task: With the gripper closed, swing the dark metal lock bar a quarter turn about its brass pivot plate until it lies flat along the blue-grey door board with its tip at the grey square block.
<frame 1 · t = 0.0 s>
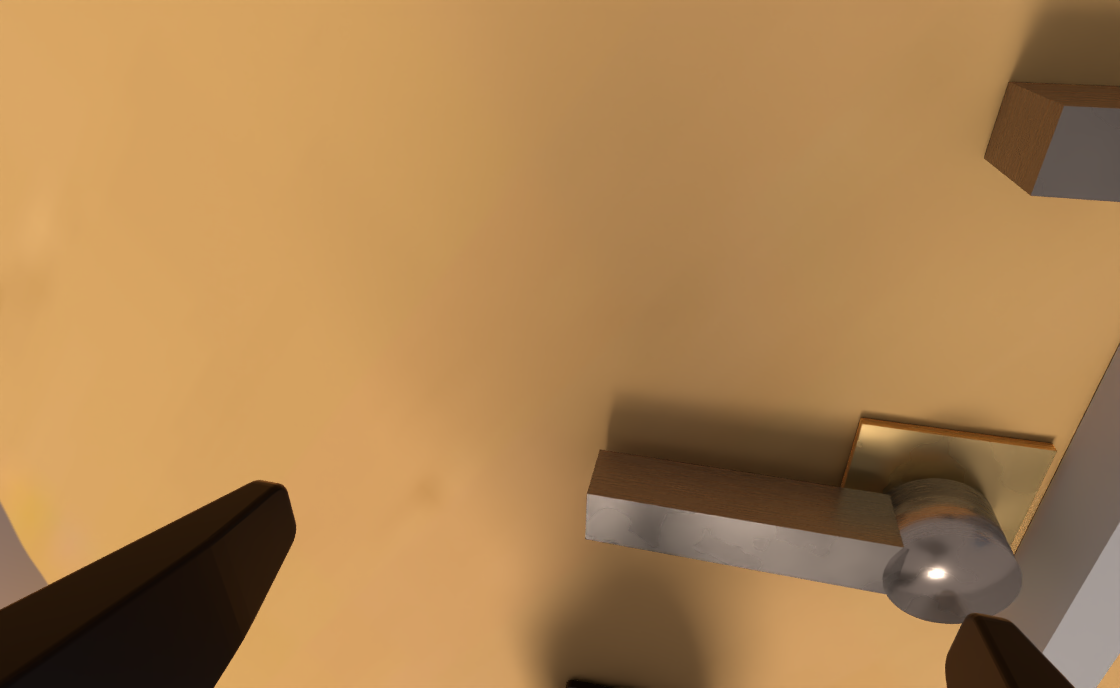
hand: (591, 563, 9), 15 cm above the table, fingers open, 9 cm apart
lock bar: (786, 524, 23), point 2 cm above the table, hinge at 90.0°
door board: (1109, 438, 21), on the table
grey square block: (1070, 125, 18), on the table
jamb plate: (924, 506, 24), on the table
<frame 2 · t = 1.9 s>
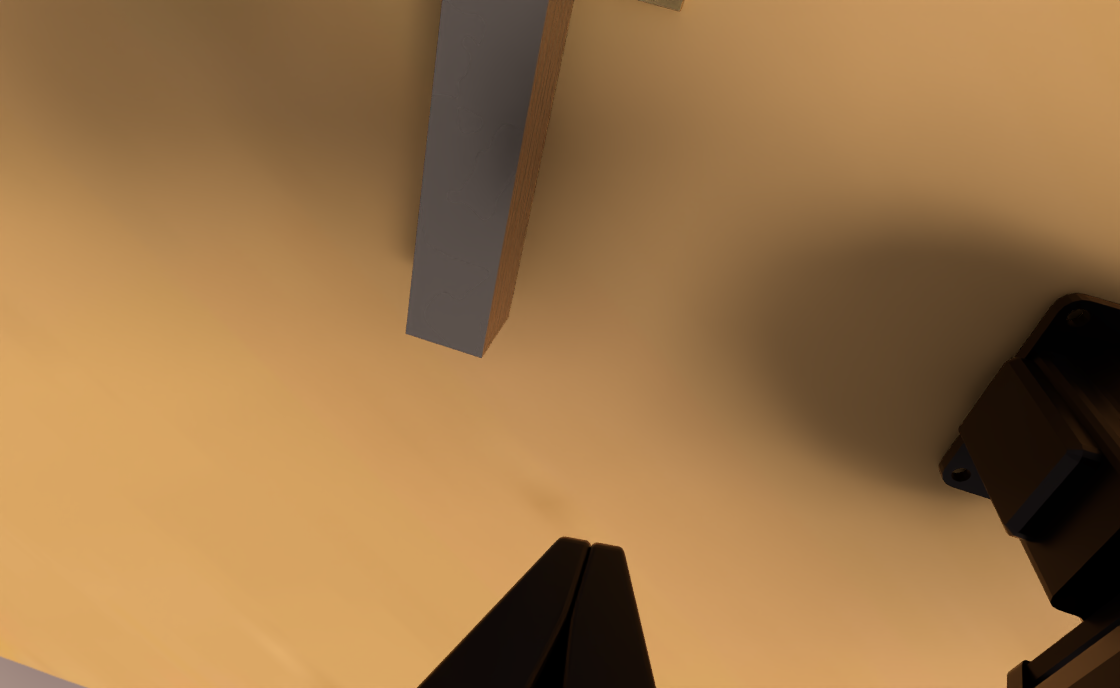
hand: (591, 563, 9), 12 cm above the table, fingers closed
lock bar: (501, 70, 15), point 2 cm above the table, hinge at 90.0°
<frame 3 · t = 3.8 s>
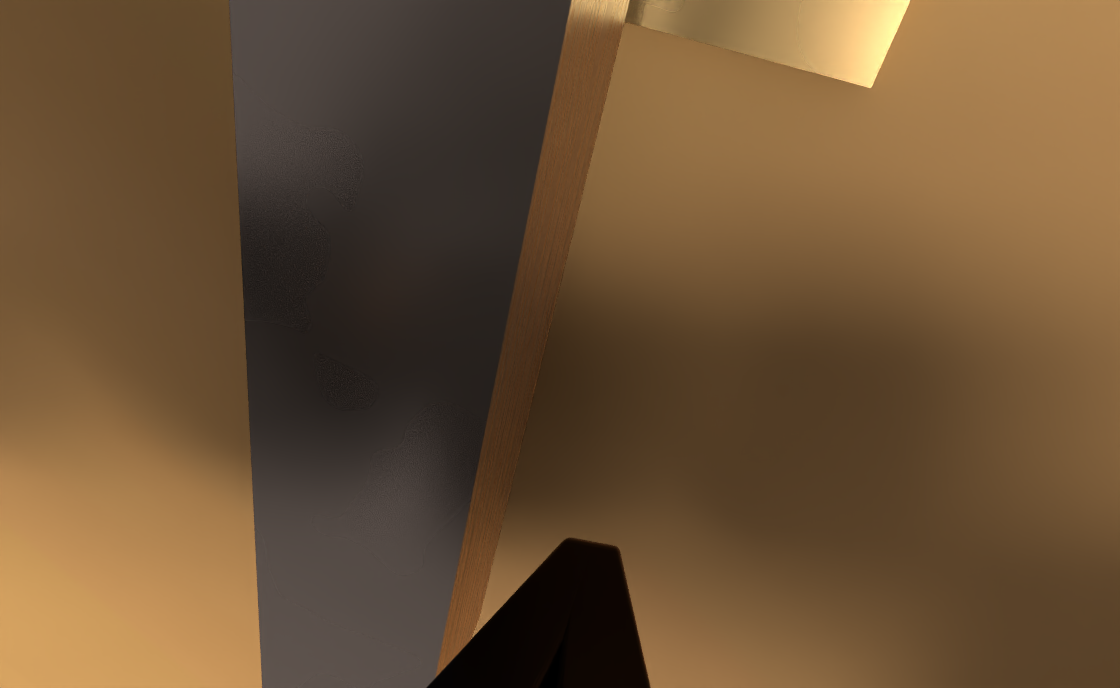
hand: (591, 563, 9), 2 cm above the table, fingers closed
lock bar: (437, 235, 6), point 2 cm above the table, hinge at 90.0°, touching gripper
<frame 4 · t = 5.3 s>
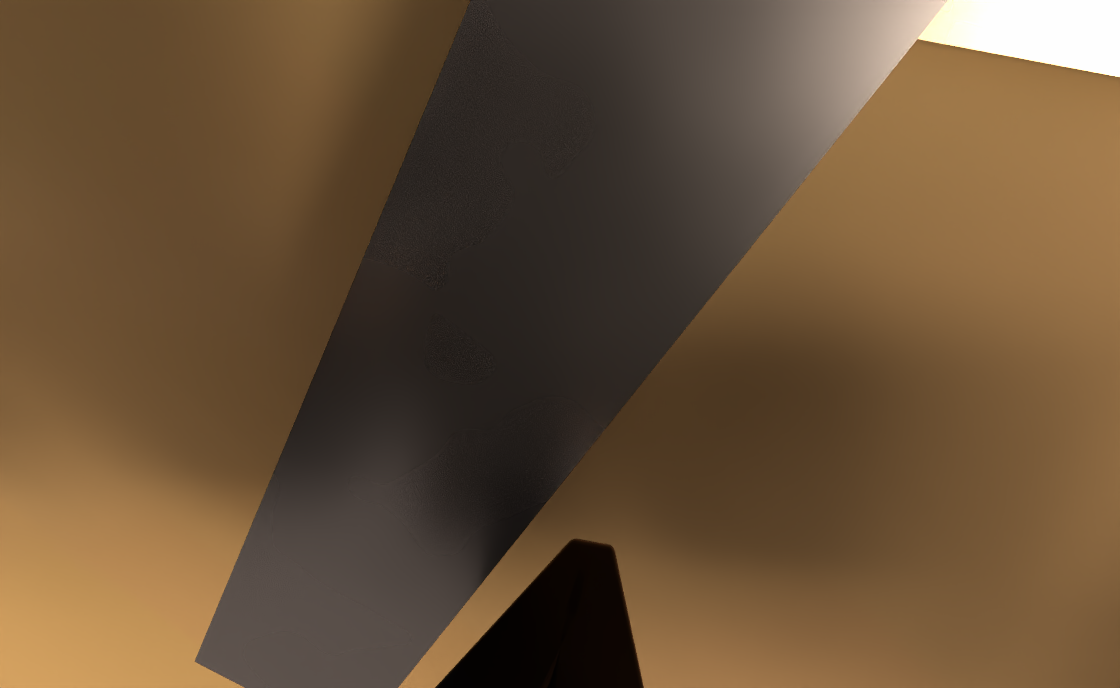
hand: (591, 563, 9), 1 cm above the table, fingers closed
lock bar: (569, 210, 6), point 2 cm above the table, hinge at 69.8°, touching gripper
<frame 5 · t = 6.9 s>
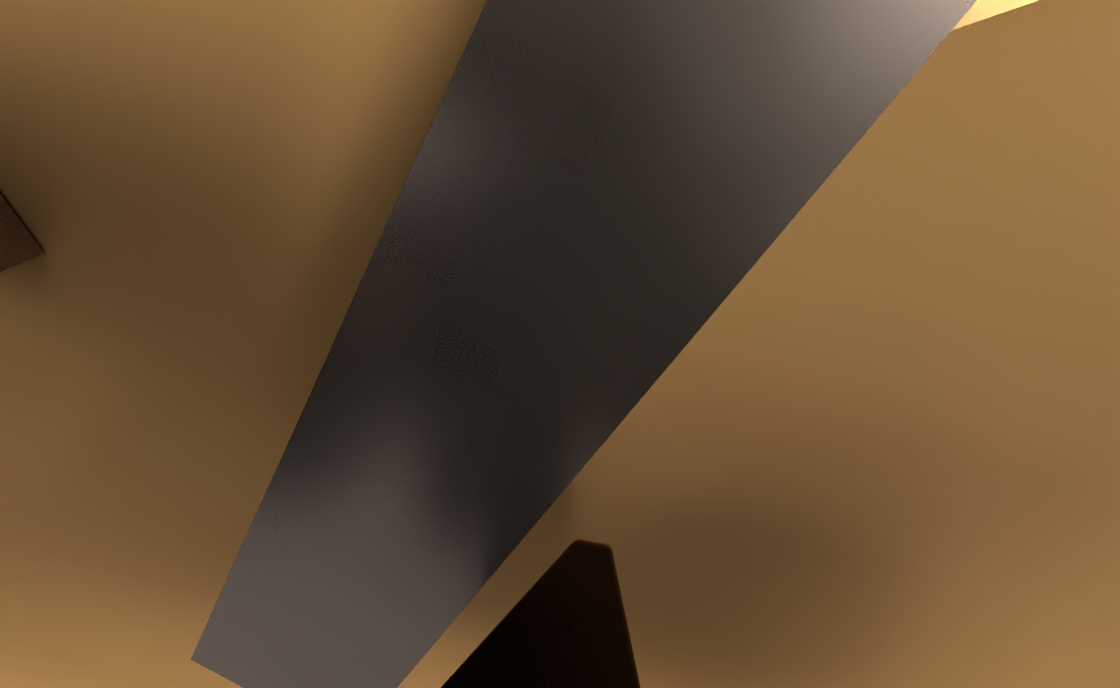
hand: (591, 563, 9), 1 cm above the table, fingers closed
lock bar: (579, 210, 6), point 2 cm above the table, hinge at 38.5°, touching gripper
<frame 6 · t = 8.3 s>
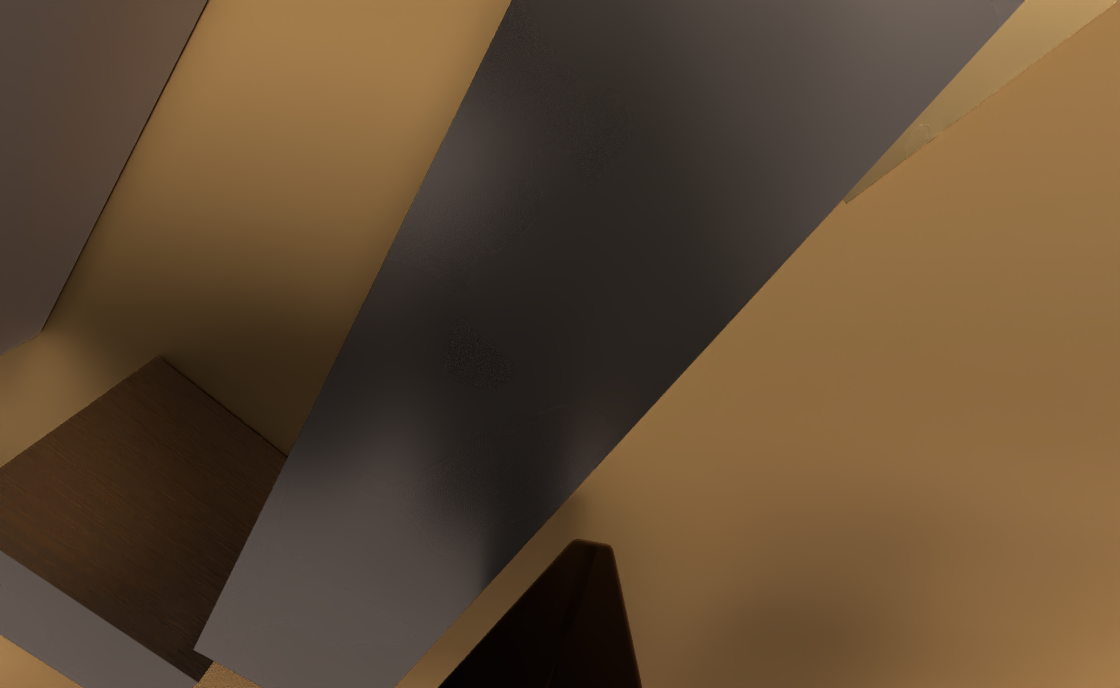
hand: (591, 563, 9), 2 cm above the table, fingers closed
lock bar: (592, 212, 6), point 2 cm above the table, hinge at 12.0°, touching gripper
grey square block: (223, 455, 12), on the table
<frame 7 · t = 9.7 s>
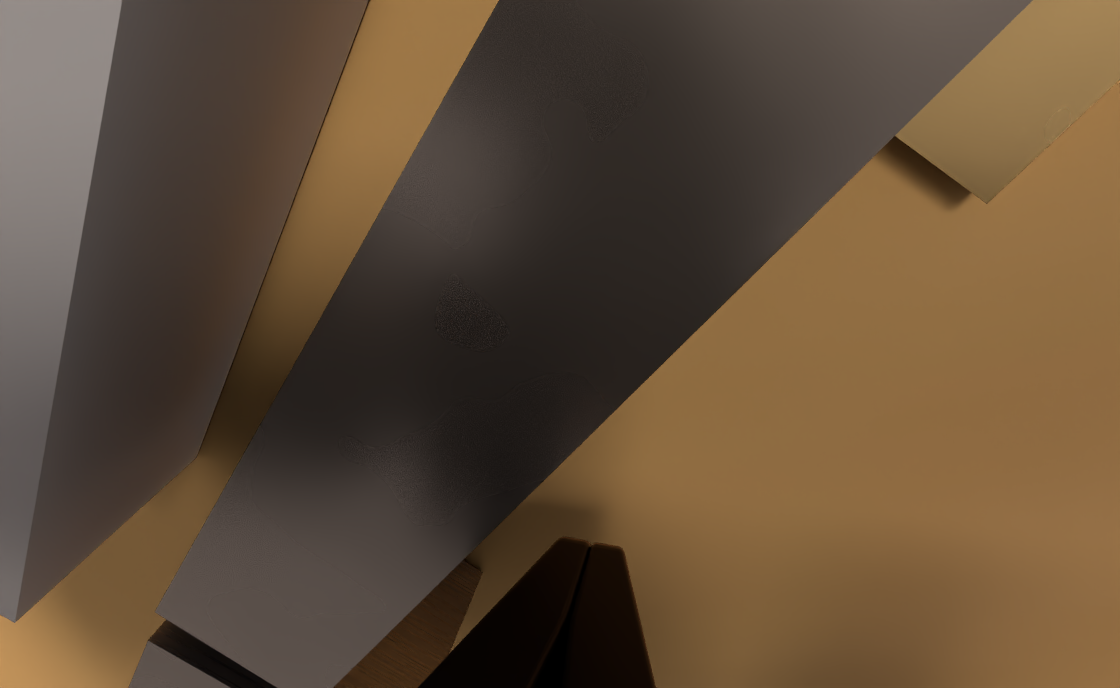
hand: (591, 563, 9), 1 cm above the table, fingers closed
lock bar: (596, 182, 6), point 2 cm above the table, hinge at -3.6°
grey square block: (373, 548, 12), on the table
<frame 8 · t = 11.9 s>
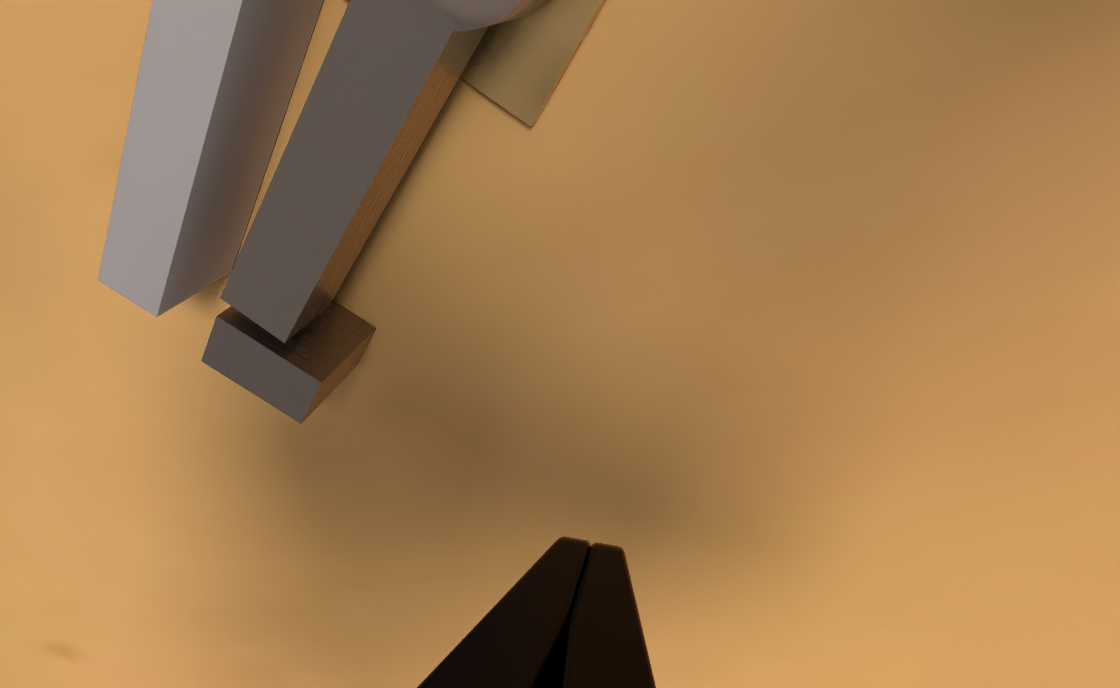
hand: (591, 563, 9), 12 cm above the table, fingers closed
lock bar: (374, 114, 17), point 2 cm above the table, hinge at -3.7°
grey square block: (321, 319, 23), on the table
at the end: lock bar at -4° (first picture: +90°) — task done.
